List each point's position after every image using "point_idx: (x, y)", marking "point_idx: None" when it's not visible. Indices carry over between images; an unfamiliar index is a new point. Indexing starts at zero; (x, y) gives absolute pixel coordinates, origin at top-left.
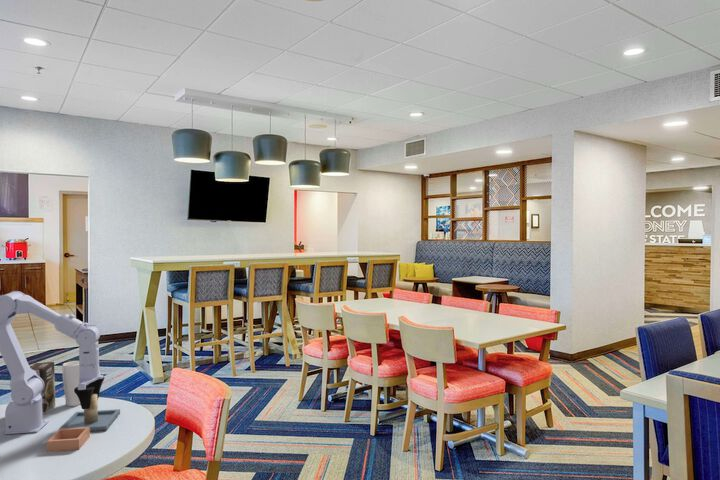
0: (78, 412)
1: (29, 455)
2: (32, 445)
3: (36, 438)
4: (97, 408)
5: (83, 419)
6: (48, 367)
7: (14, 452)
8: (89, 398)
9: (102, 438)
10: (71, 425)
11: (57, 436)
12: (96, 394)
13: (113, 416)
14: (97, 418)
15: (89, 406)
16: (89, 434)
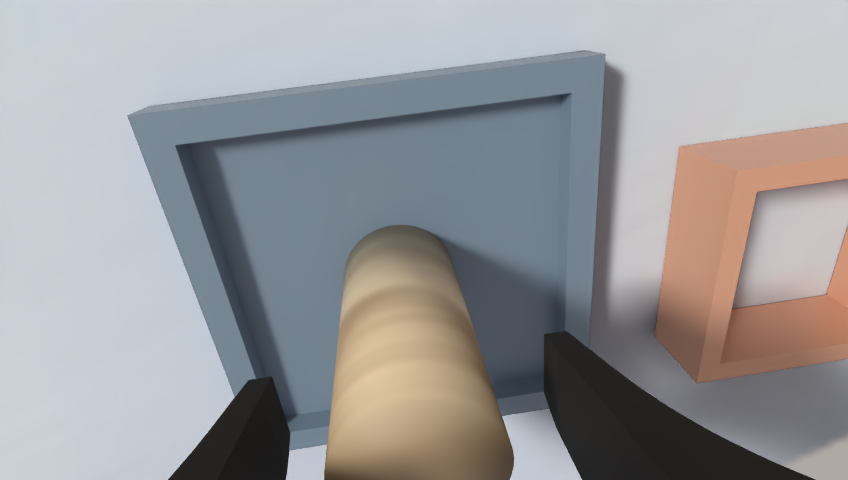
0: None
1: (845, 368)
2: (708, 421)
3: None
4: (394, 285)
5: None
6: None
7: (770, 450)
8: (679, 419)
9: (752, 11)
10: None
11: (767, 339)
12: (357, 431)
13: (348, 95)
14: (395, 235)
15: (580, 342)
16: (702, 150)
